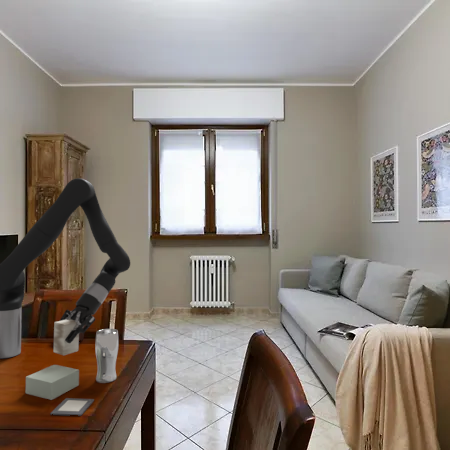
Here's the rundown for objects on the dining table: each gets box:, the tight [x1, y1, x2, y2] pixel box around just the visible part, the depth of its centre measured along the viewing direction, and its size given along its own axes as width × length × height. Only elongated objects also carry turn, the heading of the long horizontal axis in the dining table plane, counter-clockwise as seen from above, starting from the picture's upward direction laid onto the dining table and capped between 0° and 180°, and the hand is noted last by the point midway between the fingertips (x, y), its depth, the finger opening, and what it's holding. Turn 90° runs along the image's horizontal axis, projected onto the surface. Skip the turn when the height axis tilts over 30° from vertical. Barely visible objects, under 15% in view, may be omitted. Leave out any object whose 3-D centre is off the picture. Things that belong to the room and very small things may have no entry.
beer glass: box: [94, 328, 119, 384], centre depth 112 cm, size 7×7×15 cm
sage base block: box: [25, 364, 80, 401], centre depth 104 cm, size 10×10×5 cm
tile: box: [49, 397, 95, 417], centre depth 94 cm, size 8×8×1 cm
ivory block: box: [53, 319, 80, 356], centre depth 118 cm, size 6×6×10 cm
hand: (61, 340), depth 117 cm, fingers closed on ivory block, 5 cm apart
